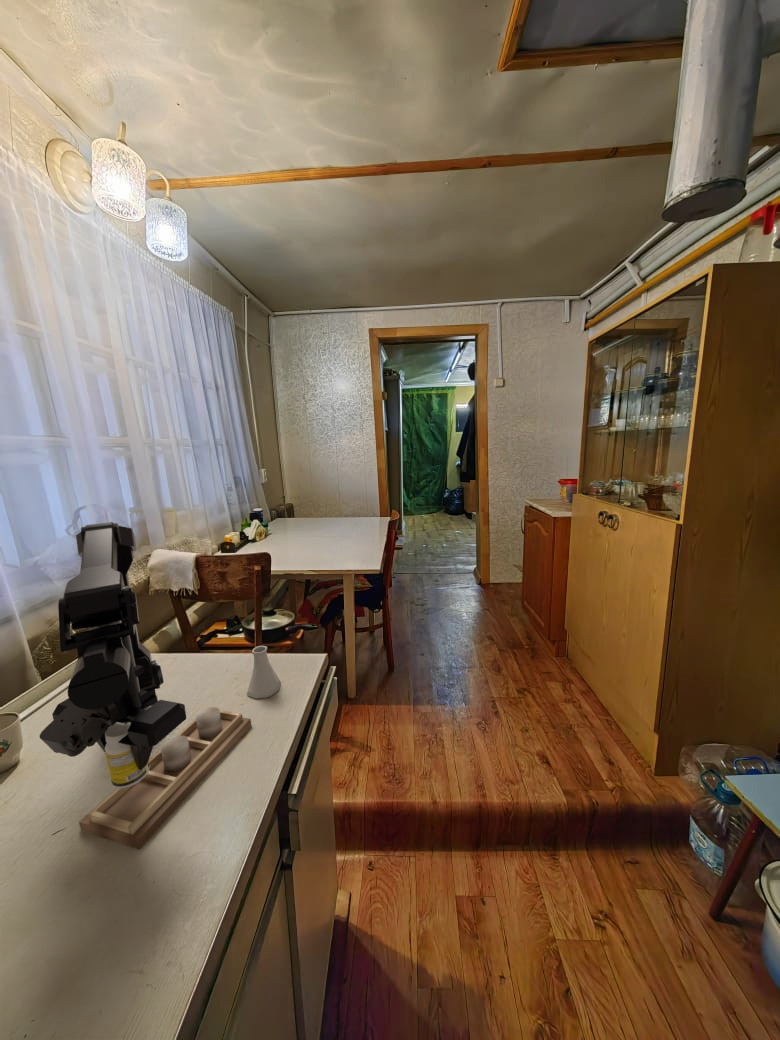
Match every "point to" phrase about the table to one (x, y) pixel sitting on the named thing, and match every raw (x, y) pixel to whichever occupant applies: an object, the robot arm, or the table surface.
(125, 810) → the socket tray
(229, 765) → the table surface
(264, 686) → the flask
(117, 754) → the supplement bottle
